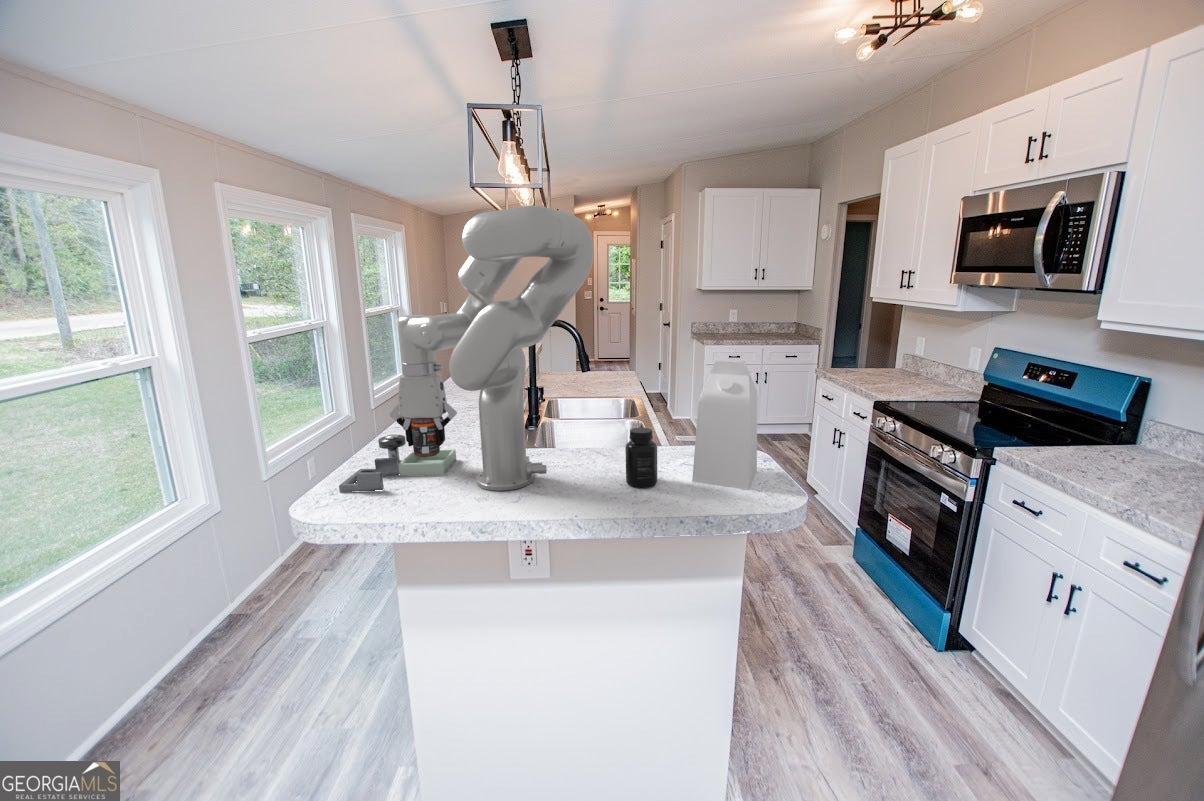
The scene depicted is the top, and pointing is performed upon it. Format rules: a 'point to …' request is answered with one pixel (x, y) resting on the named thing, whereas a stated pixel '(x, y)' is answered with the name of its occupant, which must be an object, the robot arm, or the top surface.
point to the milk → (727, 428)
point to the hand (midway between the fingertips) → (426, 443)
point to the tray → (427, 464)
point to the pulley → (392, 444)
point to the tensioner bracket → (371, 476)
